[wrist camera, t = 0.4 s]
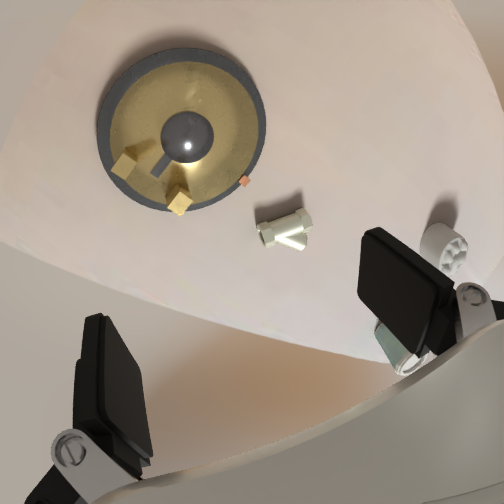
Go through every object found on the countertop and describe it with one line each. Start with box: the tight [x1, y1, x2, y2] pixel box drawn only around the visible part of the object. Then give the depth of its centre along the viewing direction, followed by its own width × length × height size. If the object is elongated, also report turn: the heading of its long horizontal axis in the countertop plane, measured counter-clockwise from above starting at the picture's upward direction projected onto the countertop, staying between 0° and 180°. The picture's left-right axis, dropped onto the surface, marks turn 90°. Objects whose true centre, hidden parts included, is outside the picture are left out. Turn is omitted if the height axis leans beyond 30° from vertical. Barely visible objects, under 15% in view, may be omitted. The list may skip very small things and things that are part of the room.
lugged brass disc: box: [110, 61, 258, 216], centre depth 33 cm, size 18×18×6 cm
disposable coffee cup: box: [375, 323, 428, 376], centre depth 72 cm, size 11×11×15 cm
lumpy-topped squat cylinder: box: [420, 223, 468, 277], centre depth 63 cm, size 10×13×9 cm
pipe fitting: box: [257, 208, 313, 251], centre depth 49 cm, size 8×4×7 cm
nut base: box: [97, 48, 266, 212], centre depth 36 cm, size 22×22×3 cm
